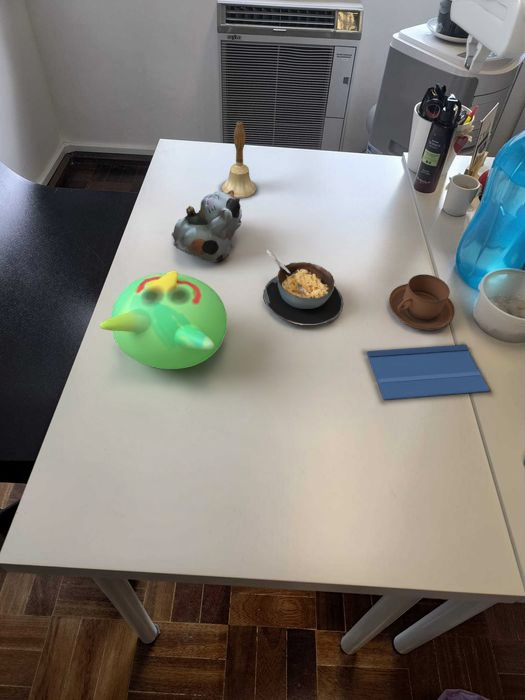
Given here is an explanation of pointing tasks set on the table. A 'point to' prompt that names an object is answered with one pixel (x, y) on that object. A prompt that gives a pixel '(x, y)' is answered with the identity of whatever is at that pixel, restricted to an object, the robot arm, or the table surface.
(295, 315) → the soup bowl
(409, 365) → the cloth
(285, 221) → the table surface
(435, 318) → the cup and saucer
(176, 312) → the toy bird
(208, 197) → the lucky cat figurine
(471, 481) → the table surface
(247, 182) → the hand bell
